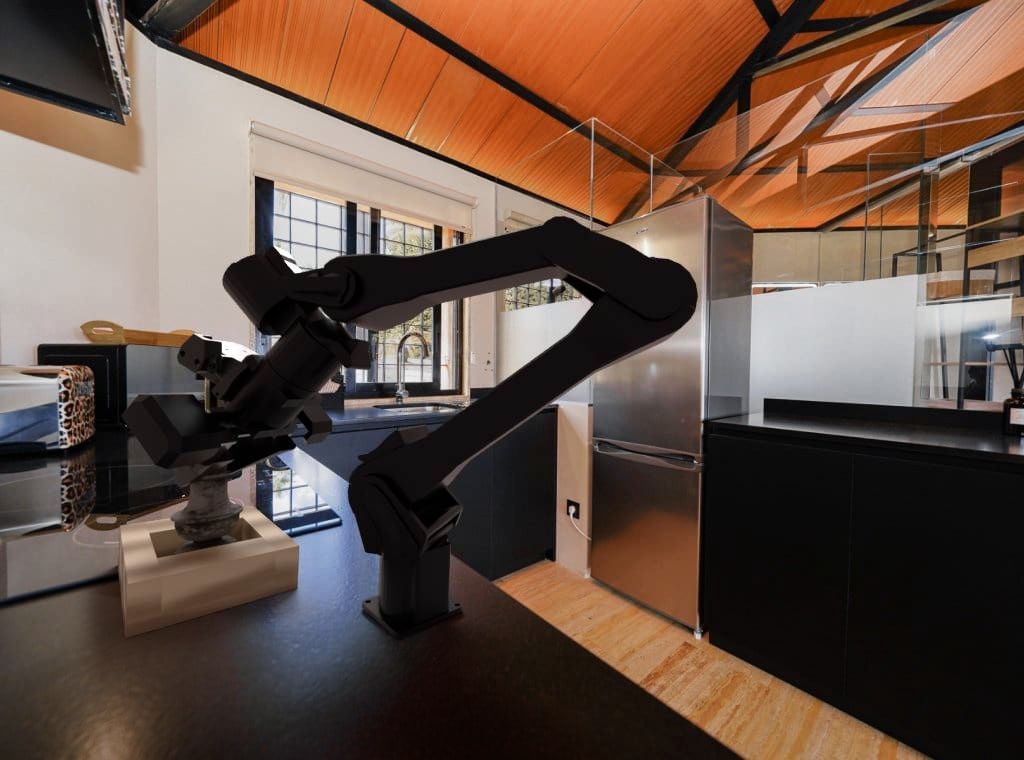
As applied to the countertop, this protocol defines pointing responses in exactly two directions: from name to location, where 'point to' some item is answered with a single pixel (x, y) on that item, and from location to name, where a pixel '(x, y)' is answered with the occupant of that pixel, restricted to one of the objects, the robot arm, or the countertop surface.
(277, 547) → the socket board
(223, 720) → the countertop surface
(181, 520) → the salt shaker
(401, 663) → the countertop surface
